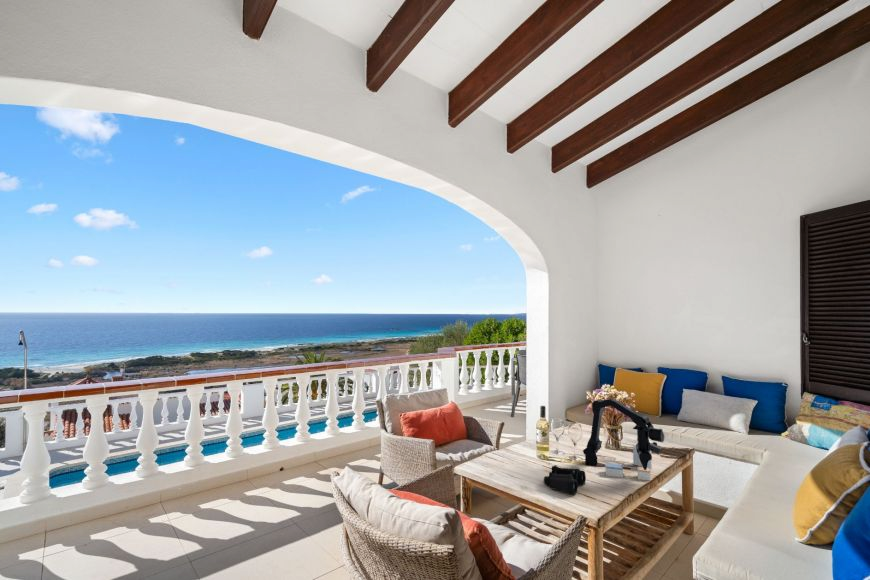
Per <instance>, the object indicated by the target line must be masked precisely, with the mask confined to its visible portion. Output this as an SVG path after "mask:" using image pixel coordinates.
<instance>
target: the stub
mask: <svg viewBox="0 0 870 580" xmlns="http://www.w3.org/2000/svg"><path fill="white" fill-rule="evenodd" d="M636 469H637V479H638V480H644V481H651V480H652V479H651V478H652V477H651V469H649V468H647V469H646V470H644V468H643V467H641V466H637V467H636Z"/></svg>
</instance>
